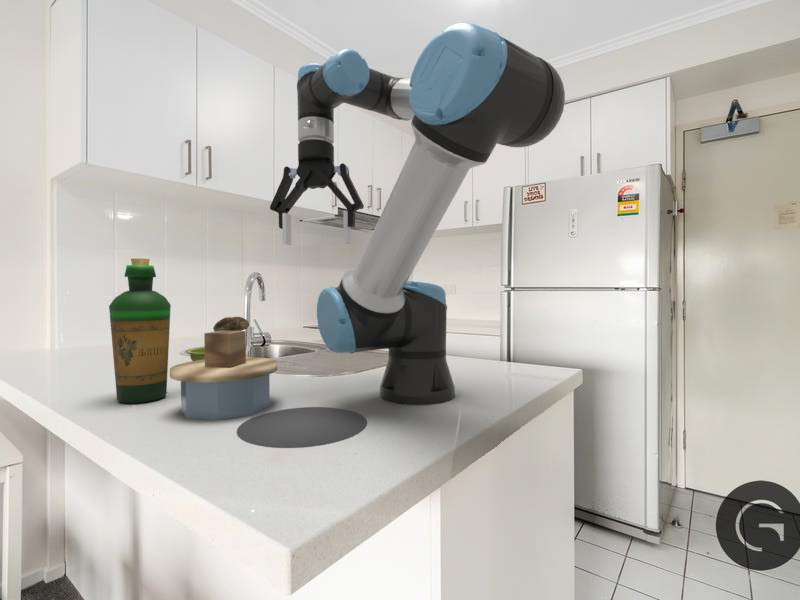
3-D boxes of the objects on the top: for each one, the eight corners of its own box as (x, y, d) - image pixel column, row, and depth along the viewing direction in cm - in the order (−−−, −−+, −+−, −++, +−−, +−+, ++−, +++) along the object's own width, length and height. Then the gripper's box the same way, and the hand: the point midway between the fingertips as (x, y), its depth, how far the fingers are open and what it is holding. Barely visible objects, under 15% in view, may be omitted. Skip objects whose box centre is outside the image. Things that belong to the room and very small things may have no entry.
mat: (379, 412, 76) (379, 410, 76) (345, 456, 56) (345, 452, 56) (274, 407, 80) (274, 404, 80) (207, 446, 60) (207, 442, 60)
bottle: (115, 409, 78) (112, 256, 78) (106, 398, 86) (104, 259, 86) (178, 399, 85) (176, 258, 85) (165, 390, 94) (163, 261, 93)
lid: (293, 364, 85) (293, 328, 85) (245, 384, 68) (244, 338, 67) (211, 361, 88) (210, 327, 88) (144, 380, 71) (143, 336, 71)
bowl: (279, 401, 84) (279, 365, 84) (240, 423, 70) (240, 381, 70) (214, 398, 86) (214, 363, 86) (164, 419, 73) (164, 378, 72)
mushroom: (248, 377, 107) (247, 317, 106) (210, 379, 104) (209, 318, 104) (250, 370, 116) (249, 315, 115) (215, 372, 113) (214, 315, 113)
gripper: (253, 141, 90) (254, 242, 91) (368, 133, 86) (368, 240, 86) (270, 152, 97) (270, 246, 98) (377, 145, 93) (377, 244, 94)
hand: (316, 243), depth 92 cm, fingers open, 13 cm apart
